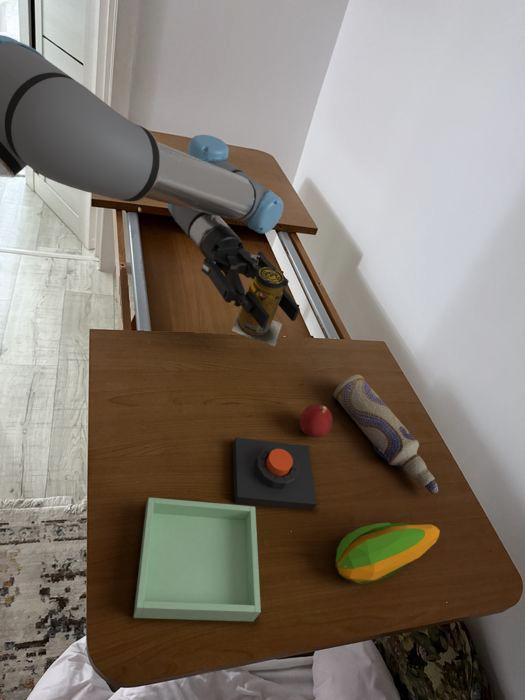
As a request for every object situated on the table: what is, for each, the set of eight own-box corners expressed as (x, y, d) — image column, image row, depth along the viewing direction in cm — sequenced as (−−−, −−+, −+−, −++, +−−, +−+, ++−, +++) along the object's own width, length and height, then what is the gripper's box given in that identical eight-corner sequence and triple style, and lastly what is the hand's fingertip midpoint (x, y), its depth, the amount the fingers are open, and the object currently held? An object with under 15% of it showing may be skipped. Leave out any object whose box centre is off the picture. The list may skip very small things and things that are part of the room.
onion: (296, 416, 95) (311, 388, 89) (325, 426, 95) (341, 399, 90) (291, 440, 90) (306, 412, 85) (321, 450, 91) (338, 424, 85)
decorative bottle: (325, 400, 100) (338, 377, 95) (352, 390, 104) (365, 368, 100) (413, 510, 87) (433, 490, 82) (439, 494, 91) (459, 475, 87)
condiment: (241, 308, 98) (257, 258, 90) (281, 324, 98) (302, 275, 90) (231, 331, 92) (248, 279, 84) (274, 347, 93) (295, 297, 85)
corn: (336, 529, 71) (438, 495, 81) (316, 549, 77) (413, 515, 86) (362, 582, 67) (465, 540, 77) (338, 599, 73) (437, 558, 82)
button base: (233, 504, 78) (240, 491, 76) (232, 444, 86) (238, 431, 83) (312, 510, 81) (321, 498, 79) (304, 453, 89) (311, 440, 86)
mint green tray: (133, 618, 63) (136, 607, 61) (145, 510, 74) (148, 497, 71) (253, 622, 67) (260, 612, 64) (248, 518, 77) (255, 506, 75)
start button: (266, 474, 79) (269, 468, 78) (265, 453, 82) (268, 447, 81) (290, 477, 80) (294, 471, 79) (288, 456, 83) (291, 450, 82)
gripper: (176, 229, 91) (241, 311, 80) (260, 221, 102) (328, 293, 91) (170, 262, 96) (230, 344, 85) (251, 252, 107) (314, 324, 96)
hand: (281, 318), depth 88 cm, fingers closed on condiment, 6 cm apart
